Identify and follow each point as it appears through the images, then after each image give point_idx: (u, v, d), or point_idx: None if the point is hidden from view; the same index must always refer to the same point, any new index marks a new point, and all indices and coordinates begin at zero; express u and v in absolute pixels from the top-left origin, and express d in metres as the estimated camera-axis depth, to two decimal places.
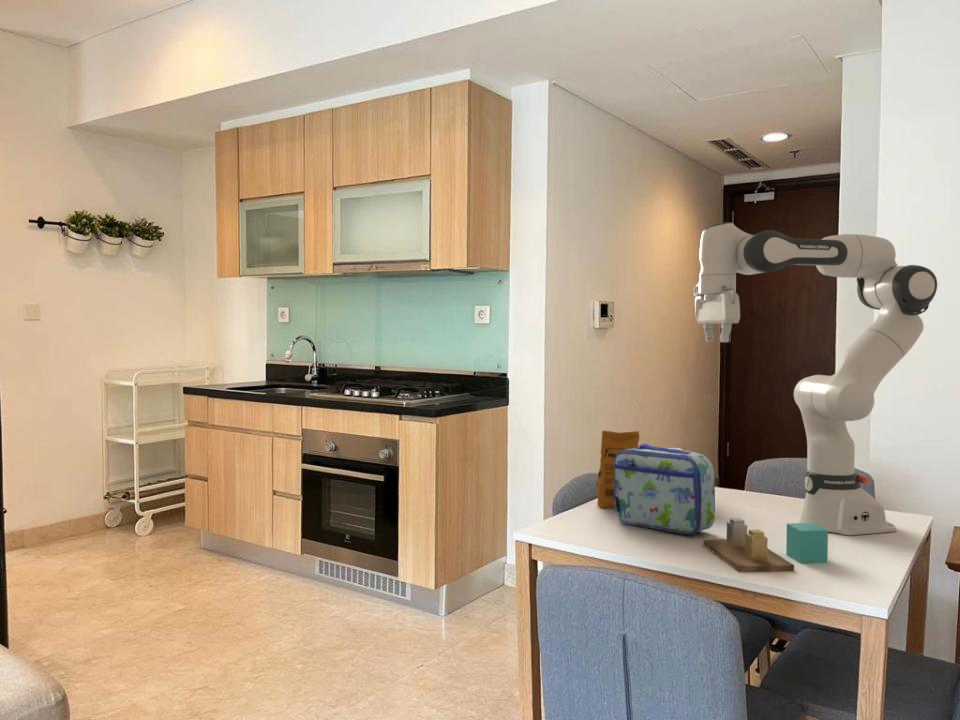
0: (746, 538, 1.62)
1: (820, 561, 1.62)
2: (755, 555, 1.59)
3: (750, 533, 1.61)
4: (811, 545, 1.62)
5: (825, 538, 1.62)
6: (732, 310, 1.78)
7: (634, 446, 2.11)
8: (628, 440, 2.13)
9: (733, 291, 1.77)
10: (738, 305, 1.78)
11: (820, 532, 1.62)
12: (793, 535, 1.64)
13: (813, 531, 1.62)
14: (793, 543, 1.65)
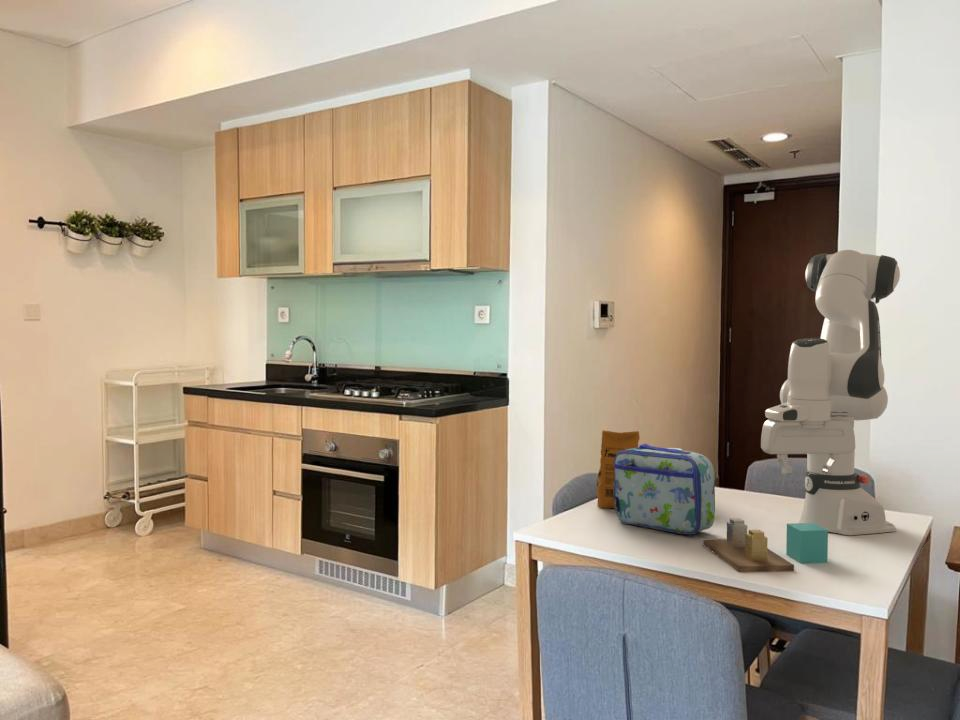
0: (746, 538, 1.62)
1: (820, 561, 1.62)
2: (755, 555, 1.59)
3: (750, 533, 1.61)
4: (811, 545, 1.62)
5: (825, 538, 1.62)
6: None
7: (634, 446, 2.11)
8: (628, 440, 2.13)
9: None
10: None
11: (820, 532, 1.62)
12: (793, 535, 1.64)
13: (813, 531, 1.62)
14: (793, 543, 1.65)
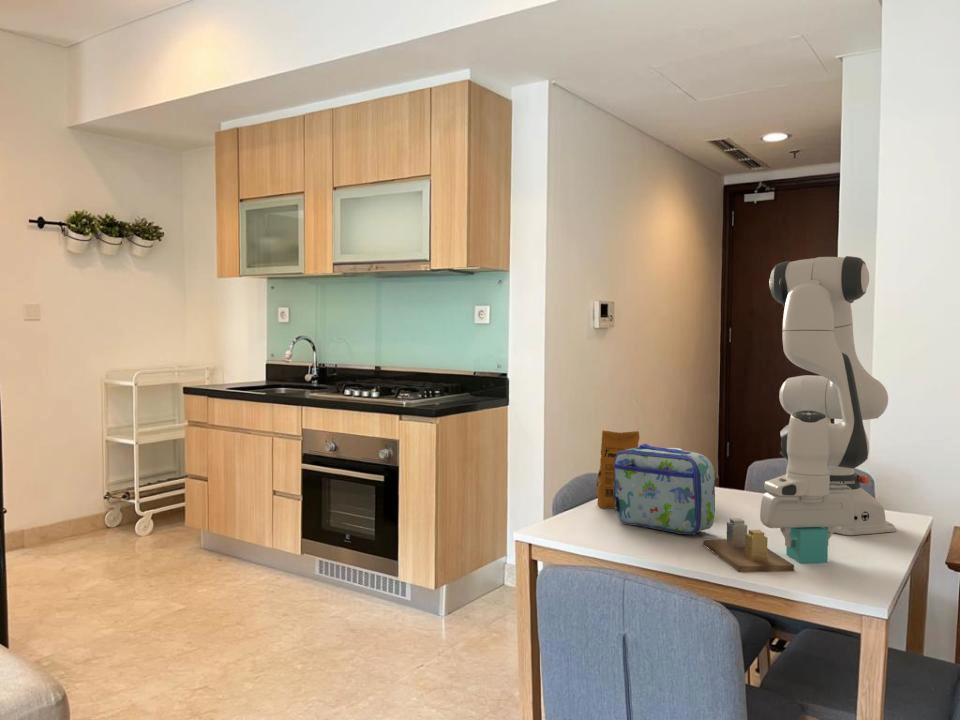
0: (746, 538, 1.62)
1: (820, 561, 1.62)
2: (755, 555, 1.59)
3: (750, 533, 1.61)
4: (811, 545, 1.62)
5: (825, 538, 1.62)
6: None
7: (634, 446, 2.11)
8: (628, 440, 2.13)
9: (852, 491, 1.65)
10: None
11: (820, 532, 1.62)
12: (793, 535, 1.64)
13: (813, 531, 1.62)
14: None
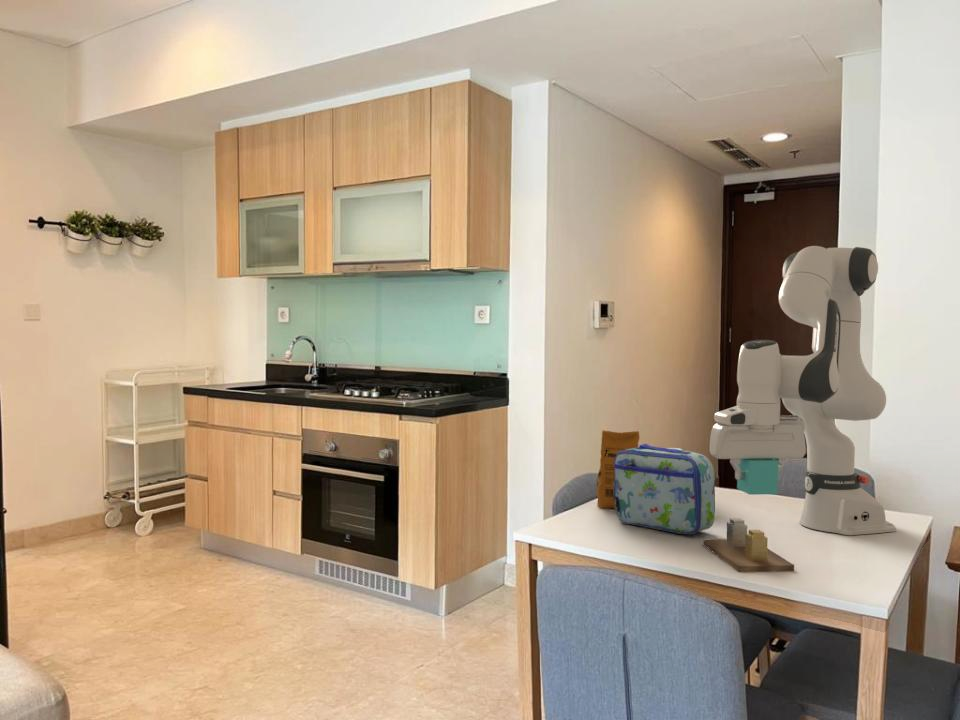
0: (746, 538, 1.62)
1: (770, 493, 1.57)
2: (755, 555, 1.59)
3: (750, 533, 1.61)
4: (761, 476, 1.57)
5: (775, 469, 1.57)
6: None
7: (634, 446, 2.11)
8: (628, 440, 2.13)
9: (804, 422, 1.60)
10: None
11: (770, 463, 1.57)
12: (743, 467, 1.60)
13: (763, 462, 1.57)
14: None
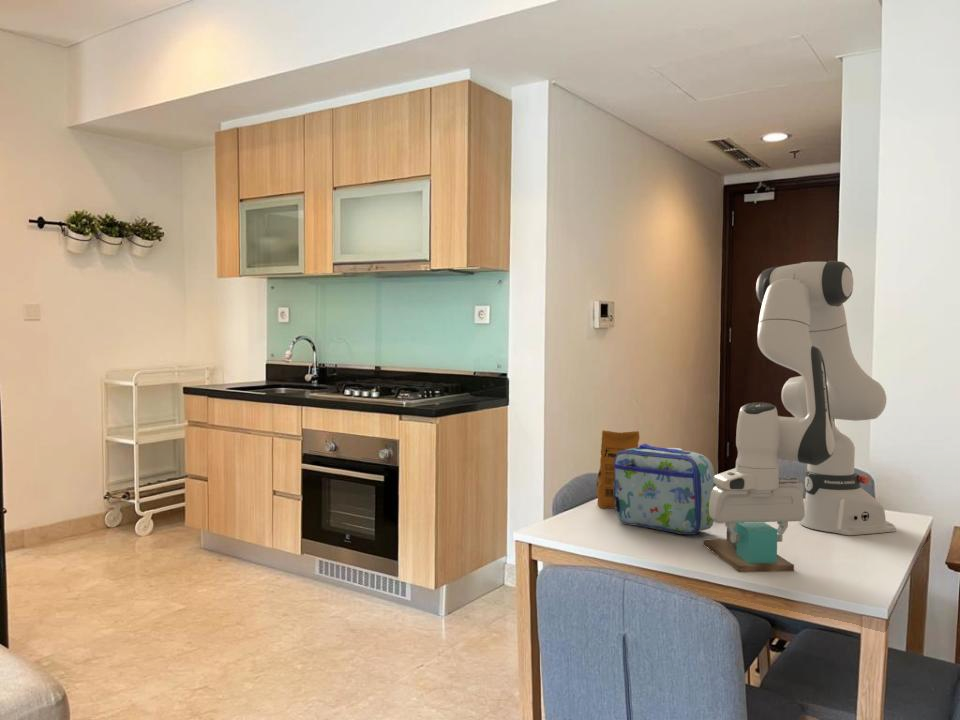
0: None
1: (769, 561, 1.58)
2: None
3: None
4: (760, 545, 1.58)
5: (774, 538, 1.58)
6: None
7: (634, 446, 2.11)
8: (628, 440, 2.13)
9: (802, 485, 1.61)
10: None
11: (769, 531, 1.58)
12: (742, 535, 1.60)
13: (762, 530, 1.58)
14: (742, 543, 1.61)
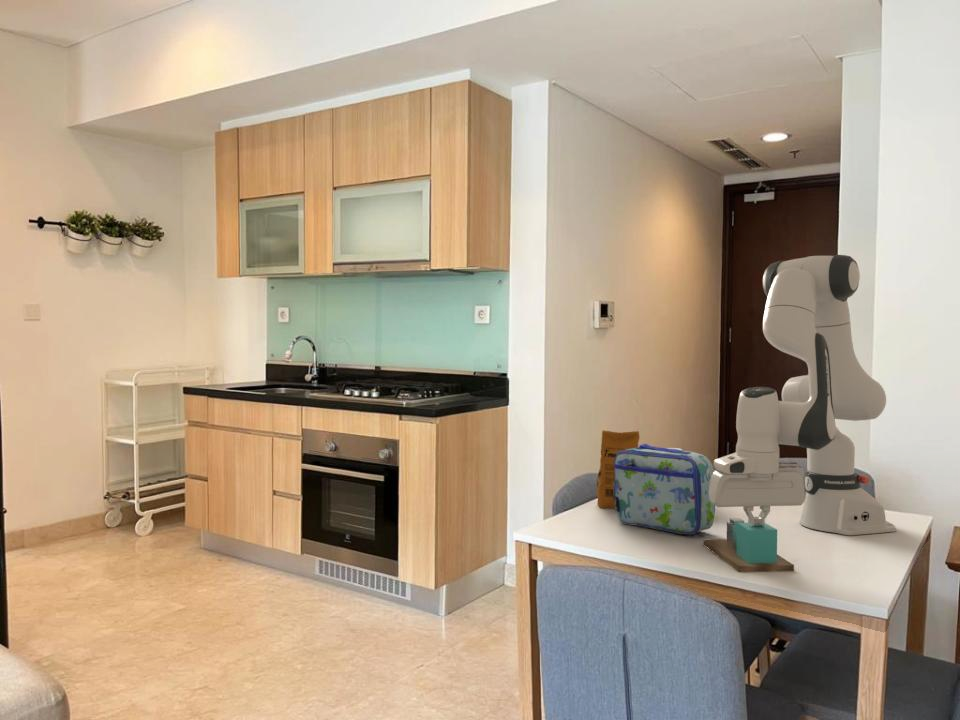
0: None
1: (769, 561, 1.58)
2: None
3: None
4: (760, 545, 1.58)
5: (774, 538, 1.58)
6: None
7: (634, 446, 2.11)
8: (628, 440, 2.13)
9: (803, 469, 1.61)
10: None
11: (769, 531, 1.58)
12: (742, 535, 1.60)
13: (762, 530, 1.58)
14: (742, 543, 1.61)
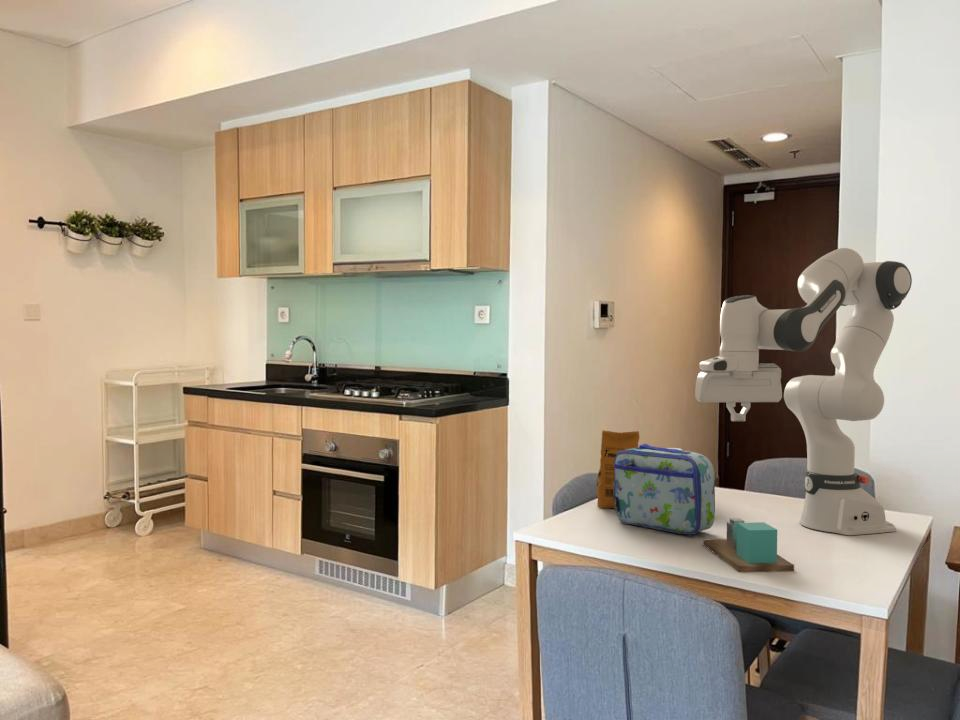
0: None
1: (769, 561, 1.58)
2: None
3: None
4: (760, 545, 1.58)
5: (774, 538, 1.58)
6: None
7: (634, 446, 2.11)
8: (628, 440, 2.13)
9: (780, 369, 1.77)
10: None
11: (769, 531, 1.58)
12: (742, 535, 1.60)
13: (762, 530, 1.58)
14: (742, 543, 1.61)
